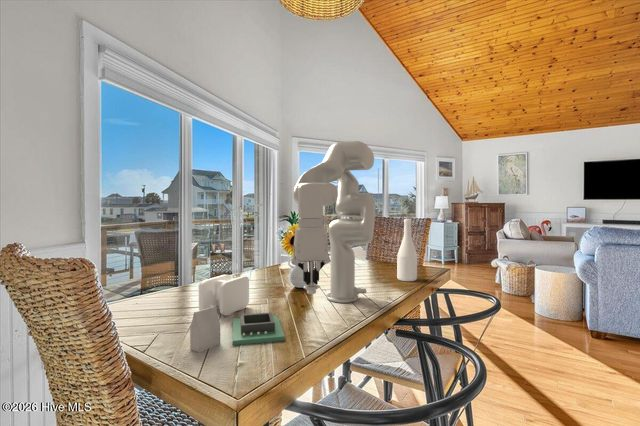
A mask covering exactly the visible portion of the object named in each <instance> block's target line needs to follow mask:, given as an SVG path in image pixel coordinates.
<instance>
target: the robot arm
mask: <svg viewBox="0 0 640 426" xmlns="http://www.w3.org/2000/svg"><path fill="white" fill-rule="evenodd" d="M374 163H375V156H374V152H373V150H372V149H371V147H369V146H368V145H367V144H366V143H364V142H363V141H361V140H353V141H352V140H350V141H338V142H335V143H332V144H331V145H330V146H329V148H328V150H327V152H326V153H325V156H324V157H323V159H322V161H321V162H320V163H317V165H314V166H312V167H311V168H309V169H308V170H306V171H304V172H303V173H302V174H301V176H300V177H299V178H298V180H297V182H296V184H295V185H294V188H293V199H294V201H295V203H296V204H297V205H298V206H297V207H298V209H297V210H298V213H297V215H298V219H297V220H298V227H296V228H295V232H294V239H293V256H292V258H291V261H290V263H291V265H293V266H296V267H299V269H301V270H302V271H303V273H302V275H303V276H302V277H303V279H302V280H303V282H304V283H305V285H306V284H307V285H309V272H308V271H309V270H308V269H309V268H308V267H309V266H308V265H309V264H308V263H309V262H310V261H314V284H317V285H319V283H318V282H320V271H321V269H322V268H323V267H325V265H328V264H329V263H330V292H329V293H327V294H326V299H327V300H328V301H330V302H333V303H340V304H341V303H342V304H343V303H344V304H346V303H348V304H349V303H353V302H356V301H358V300H359V295H360V294H367V288H365V287H364V288H362V287H356V286H355V285H356V284H355V283H356V282H355V280H356V276H355V274H356V272H355V271H356V270H355V266H356V265H355V264H356V262H355V261H356V255H355V254H356V253H355V251H354V250H353V248H352V246H351V244H355V245H356V244H357V245H368V244H370V243H371V242H372V241H373V239H374V232H375V231H374V228H375V217H376V200H375V198H374V196H373V194H370V193H367V192H366V193H363V192H362V193H359V186H360V184H359V181H358V179H357V177H356V176H355V175H354V174H353V173H352V172H351V171H368V170H370V169H372V168H373V166H374ZM335 181H337V186H336V185H335V184H334V183H333V182H335ZM334 204H335V213H336V215H338V216H339V217H345V218H337V219H333V220H332V221H331V222H329V220H328V219H326V218H324V207H331V206H333V205H334ZM349 217H350V218H349ZM353 218H355V219H353ZM357 218H358V219H357ZM359 218H360V219H359ZM327 224H329V225H328V234H327V230H326V227H325V225H327ZM327 235H328V237H329V241H328V237H327ZM328 242H329V243H328ZM329 245H330V255H329Z"/></svg>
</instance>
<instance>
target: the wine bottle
mask: <svg viewBox="0 0 640 426" xmlns="http://www.w3.org/2000/svg"><path fill="white" fill-rule="evenodd" d="M403 225H404V226H403V237H402V240H401V243H400V247H399V248H398V252H397V257H396V262H397V263H396V267H397V269H396V277H397V280H399V281H402V282H415V281H417V279H418V254H417V251H416V247H415V244H414V242H413V241H414V240H413V238H412V218H404V219H403Z"/></svg>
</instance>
